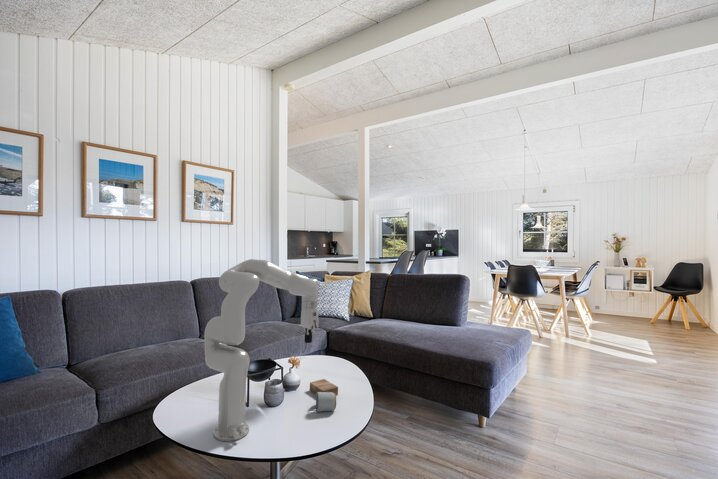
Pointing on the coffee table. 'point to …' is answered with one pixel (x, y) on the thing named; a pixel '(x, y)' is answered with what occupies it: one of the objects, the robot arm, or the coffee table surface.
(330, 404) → the ceramic mug
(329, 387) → the slab
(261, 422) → the coffee table surface
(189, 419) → the coffee table surface
